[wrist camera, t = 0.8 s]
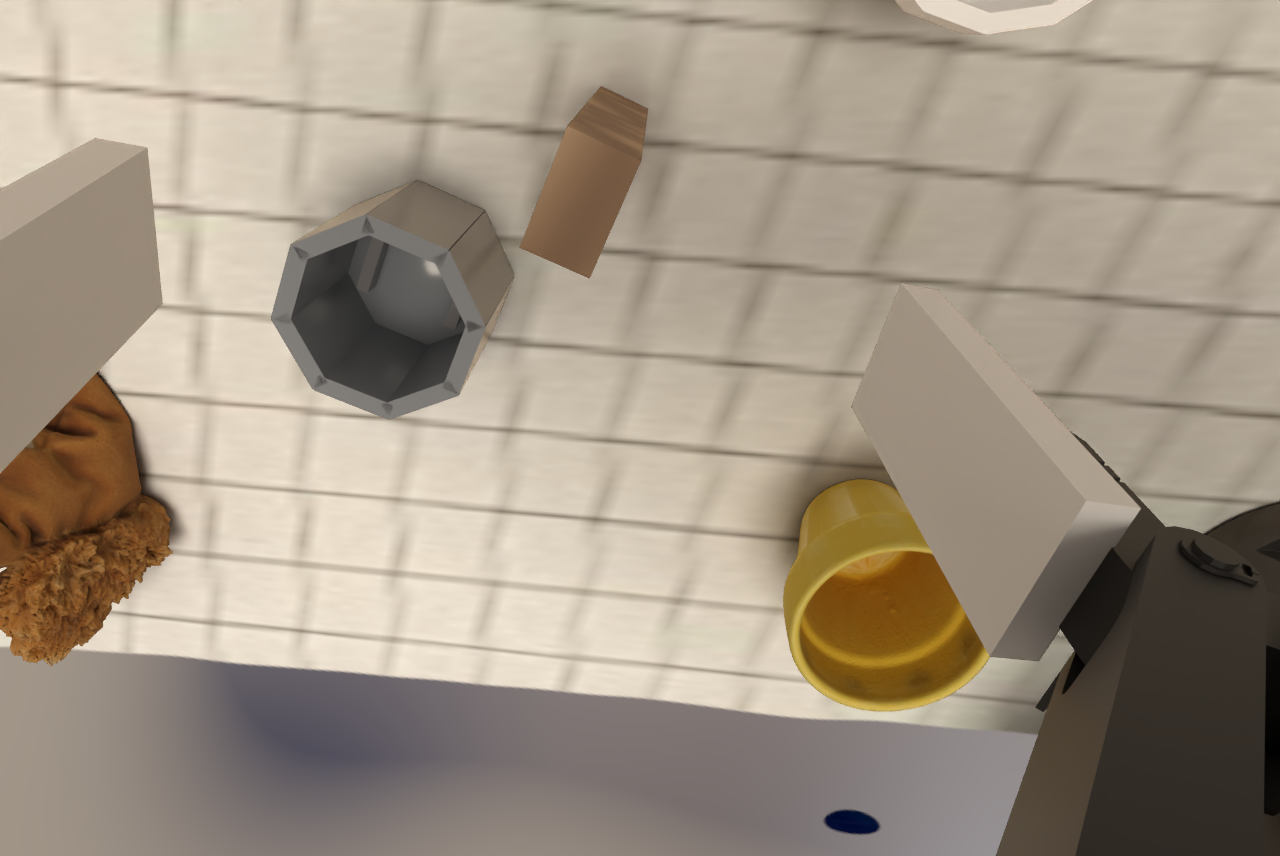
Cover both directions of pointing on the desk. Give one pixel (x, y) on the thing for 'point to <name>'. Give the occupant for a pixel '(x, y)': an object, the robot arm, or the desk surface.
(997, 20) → the foam cup
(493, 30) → the desk surface
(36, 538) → the stuffed squirrel
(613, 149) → the tan wooden beam
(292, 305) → the jar
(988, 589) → the robot arm
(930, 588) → the plant pot
